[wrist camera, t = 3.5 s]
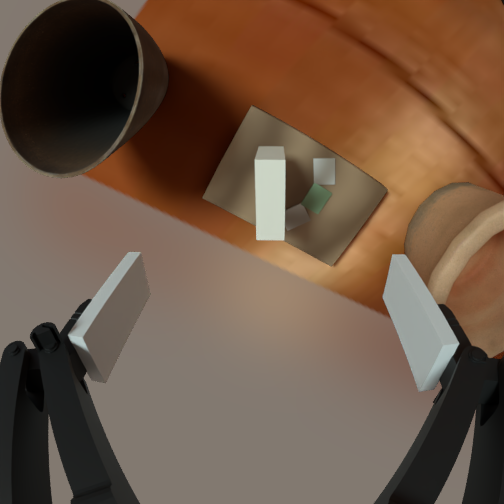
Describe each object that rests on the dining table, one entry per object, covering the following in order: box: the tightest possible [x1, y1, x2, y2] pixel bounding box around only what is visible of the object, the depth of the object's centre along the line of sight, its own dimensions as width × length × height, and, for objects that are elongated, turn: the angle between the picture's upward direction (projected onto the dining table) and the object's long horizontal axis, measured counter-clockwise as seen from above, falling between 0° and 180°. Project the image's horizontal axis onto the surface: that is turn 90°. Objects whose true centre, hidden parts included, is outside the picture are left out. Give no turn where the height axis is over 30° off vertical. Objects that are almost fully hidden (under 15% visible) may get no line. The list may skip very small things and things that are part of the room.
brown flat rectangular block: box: [202, 105, 388, 267], centre depth 35 cm, size 18×12×2 cm, turn 61°
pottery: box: [404, 182, 504, 358], centre depth 31 cm, size 22×22×14 cm
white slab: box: [255, 146, 285, 240], centre depth 30 cm, size 2×11×9 cm, turn 2°
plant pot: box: [0, 0, 169, 178], centre depth 24 cm, size 15×15×16 cm
